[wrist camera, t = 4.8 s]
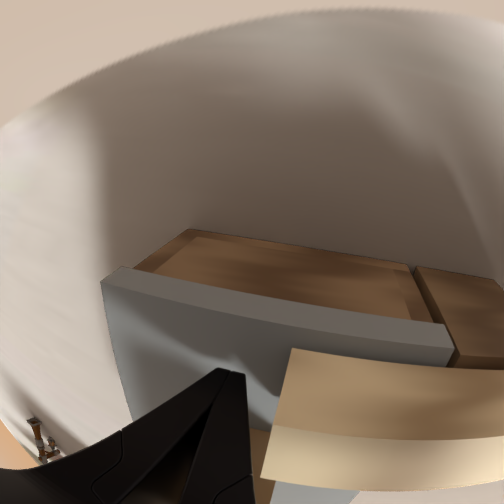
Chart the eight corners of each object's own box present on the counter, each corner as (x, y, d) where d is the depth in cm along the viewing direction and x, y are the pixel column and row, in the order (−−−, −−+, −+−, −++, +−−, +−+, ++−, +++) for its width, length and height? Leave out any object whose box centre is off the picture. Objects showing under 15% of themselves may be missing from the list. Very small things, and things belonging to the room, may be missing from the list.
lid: (444, 324, 8) (495, 469, 3) (321, 519, 14) (307, 583, 9) (121, 266, 10) (7, 353, 5) (168, 483, 16) (138, 540, 11)
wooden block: (533, 370, 6) (561, 425, 4) (497, 423, 7) (513, 477, 5) (291, 347, 8) (272, 424, 5) (278, 409, 9) (260, 477, 6)
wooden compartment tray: (494, 280, 12) (555, 358, 6) (389, 466, 18) (388, 534, 12) (187, 228, 14) (106, 288, 9) (196, 433, 21) (164, 496, 15)
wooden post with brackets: (57, 454, 34) (38, 464, 30) (46, 412, 34) (25, 420, 30) (64, 458, 33) (45, 468, 29) (53, 416, 34) (32, 425, 30)
